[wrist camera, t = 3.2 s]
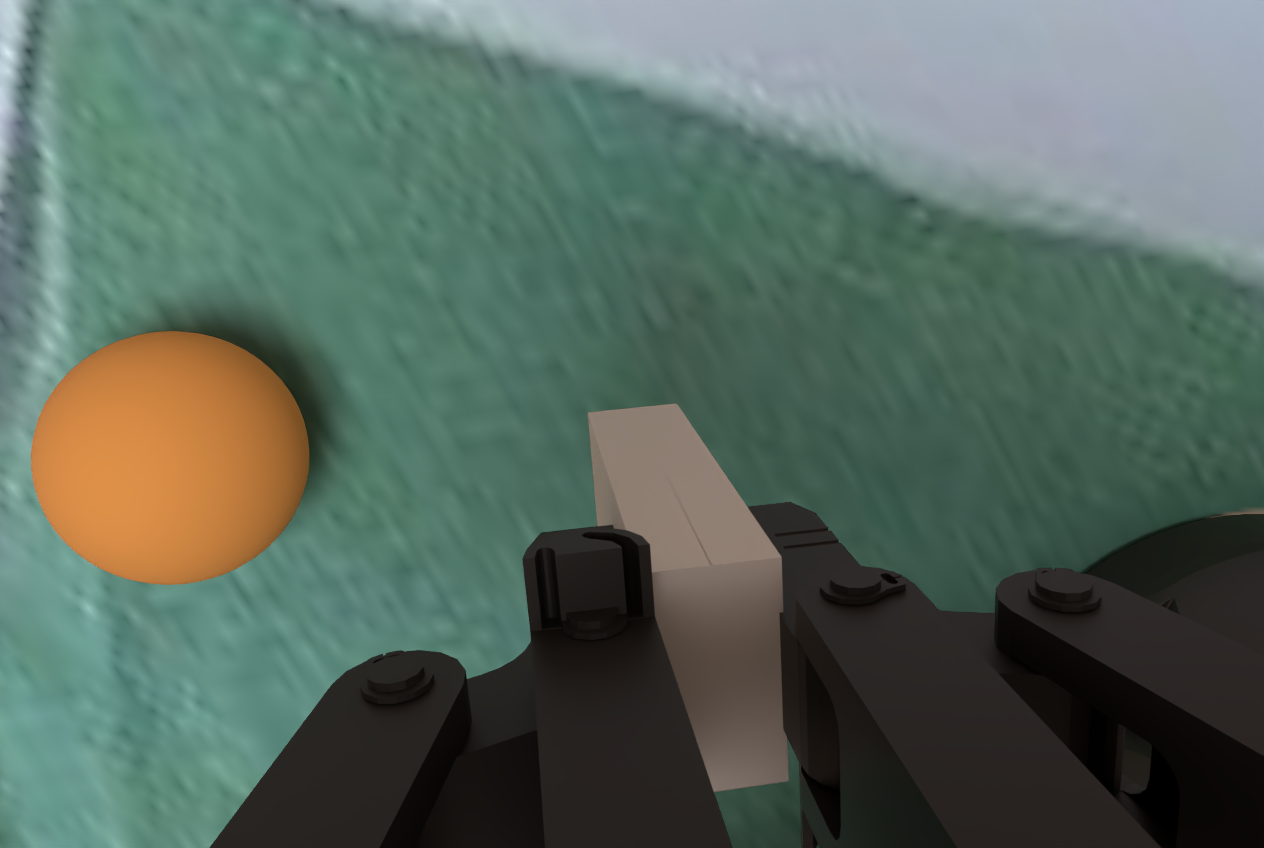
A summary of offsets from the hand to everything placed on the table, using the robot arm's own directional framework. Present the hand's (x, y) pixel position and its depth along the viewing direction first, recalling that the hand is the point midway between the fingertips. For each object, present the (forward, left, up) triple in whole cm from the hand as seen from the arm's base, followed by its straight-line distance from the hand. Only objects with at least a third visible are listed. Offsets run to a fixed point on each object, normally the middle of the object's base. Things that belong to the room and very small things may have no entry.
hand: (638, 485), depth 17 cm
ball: (+9, 0, -6) cm, 11 cm away
